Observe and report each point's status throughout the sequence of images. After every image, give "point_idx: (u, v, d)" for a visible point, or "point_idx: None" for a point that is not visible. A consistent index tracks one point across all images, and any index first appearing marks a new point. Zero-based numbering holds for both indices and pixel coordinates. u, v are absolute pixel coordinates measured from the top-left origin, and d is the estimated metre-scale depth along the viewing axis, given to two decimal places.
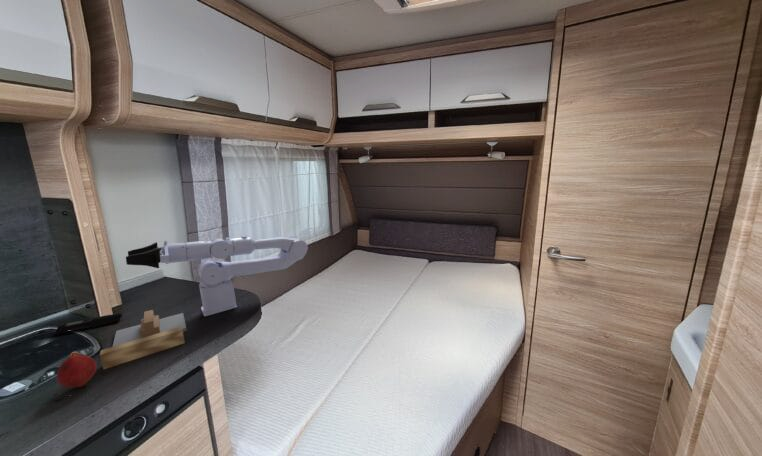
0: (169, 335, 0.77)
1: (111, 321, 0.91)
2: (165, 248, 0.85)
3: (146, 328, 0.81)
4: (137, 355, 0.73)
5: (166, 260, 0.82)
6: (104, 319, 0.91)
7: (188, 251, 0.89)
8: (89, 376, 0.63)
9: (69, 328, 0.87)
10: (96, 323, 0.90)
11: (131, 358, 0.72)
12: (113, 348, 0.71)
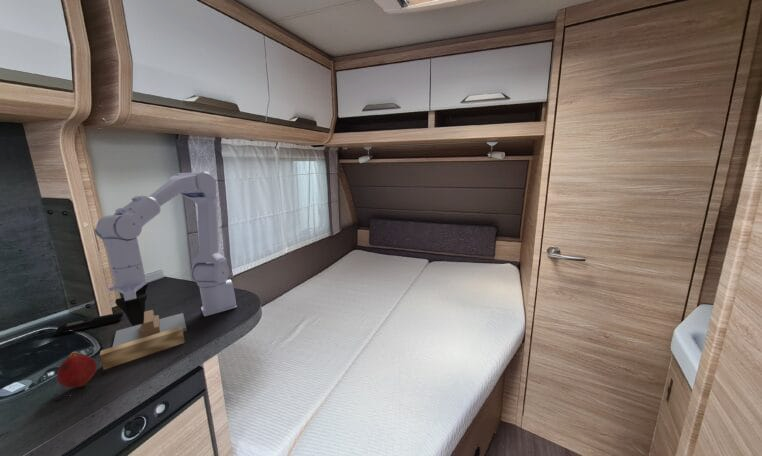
0: (169, 335, 0.77)
1: (112, 320, 0.92)
2: (118, 290, 0.68)
3: (146, 328, 0.81)
4: (137, 355, 0.73)
5: (131, 293, 0.66)
6: (105, 318, 0.91)
7: (133, 263, 0.69)
8: (89, 376, 0.63)
9: (70, 328, 0.87)
10: (97, 322, 0.90)
11: (131, 358, 0.72)
12: (113, 348, 0.71)
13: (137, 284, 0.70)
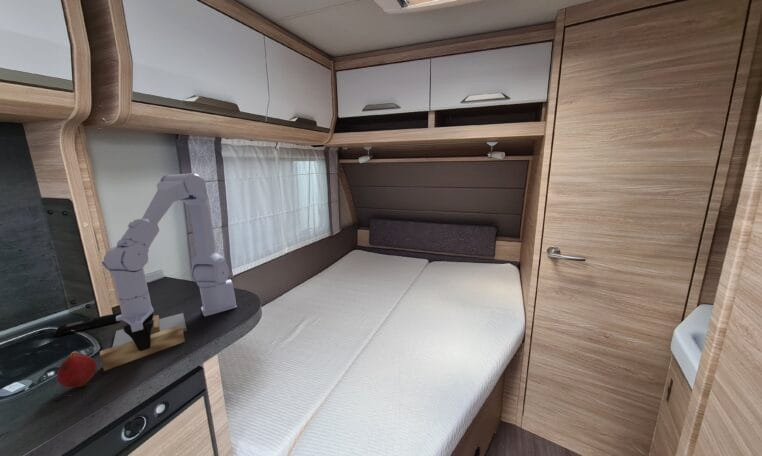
0: (169, 334, 0.77)
1: (113, 320, 0.92)
2: (125, 321, 0.69)
3: None
4: (138, 354, 0.73)
5: (139, 324, 0.68)
6: (105, 319, 0.91)
7: (140, 294, 0.71)
8: (89, 376, 0.63)
9: (69, 329, 0.87)
10: (98, 322, 0.90)
11: (132, 358, 0.72)
12: (113, 348, 0.71)
13: (144, 314, 0.72)
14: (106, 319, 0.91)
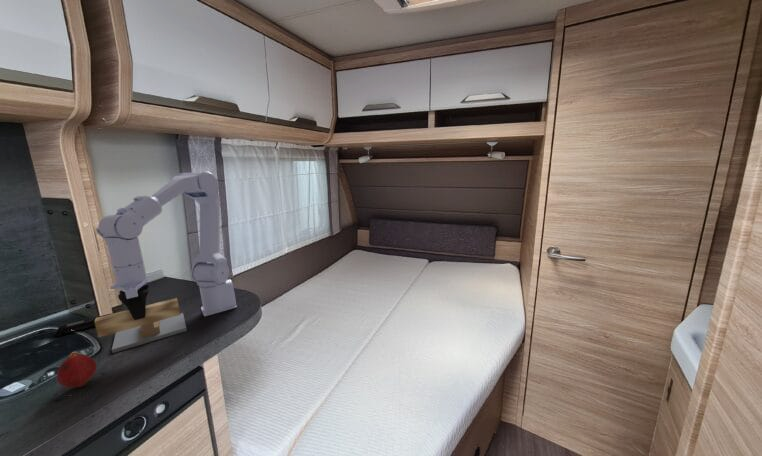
0: (164, 305, 0.76)
1: None
2: (120, 289, 0.69)
3: (146, 328, 0.81)
4: (132, 324, 0.73)
5: (133, 291, 0.67)
6: None
7: (134, 262, 0.71)
8: (89, 376, 0.63)
9: (70, 328, 0.87)
10: None
11: (126, 326, 0.72)
12: (108, 316, 0.71)
13: (138, 282, 0.71)
14: None
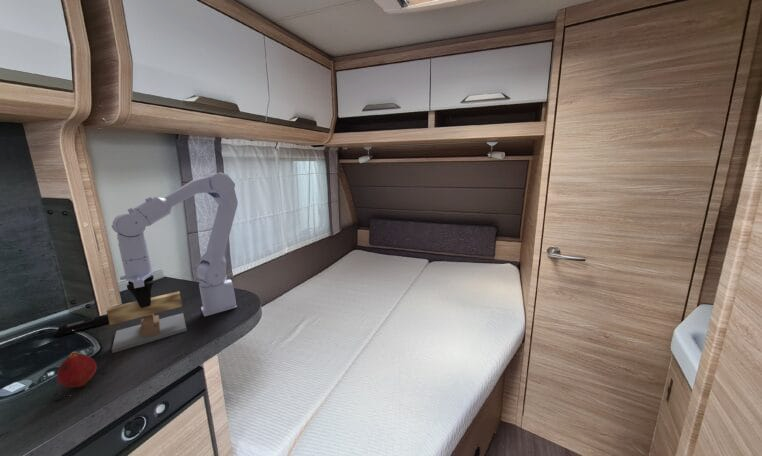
0: (168, 298, 0.85)
1: None
2: (128, 280, 0.78)
3: (146, 328, 0.81)
4: (139, 313, 0.82)
5: (140, 282, 0.76)
6: (107, 317, 0.92)
7: (135, 257, 0.79)
8: (89, 376, 0.63)
9: (71, 329, 0.87)
10: (100, 321, 0.91)
11: (134, 316, 0.81)
12: (118, 306, 0.80)
13: (144, 274, 0.80)
14: None
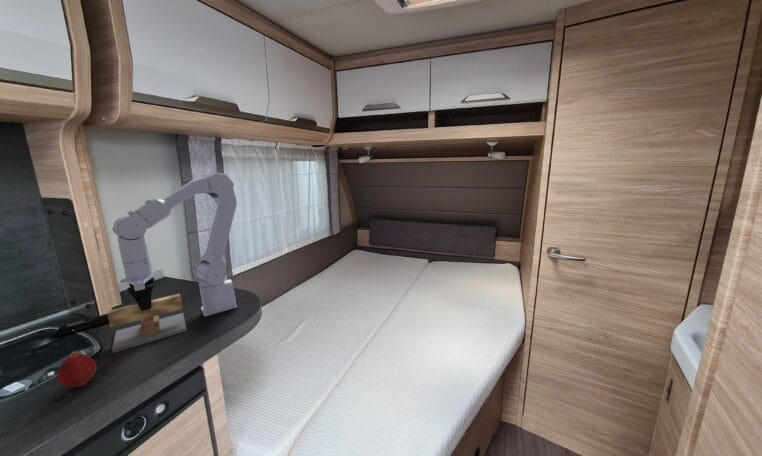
0: (168, 300, 0.86)
1: None
2: (129, 282, 0.78)
3: (146, 328, 0.81)
4: (140, 316, 0.82)
5: (141, 284, 0.77)
6: (107, 317, 0.92)
7: (135, 260, 0.79)
8: (89, 376, 0.63)
9: (71, 328, 0.87)
10: (100, 321, 0.91)
11: (135, 318, 0.81)
12: (119, 309, 0.80)
13: (145, 277, 0.81)
14: None
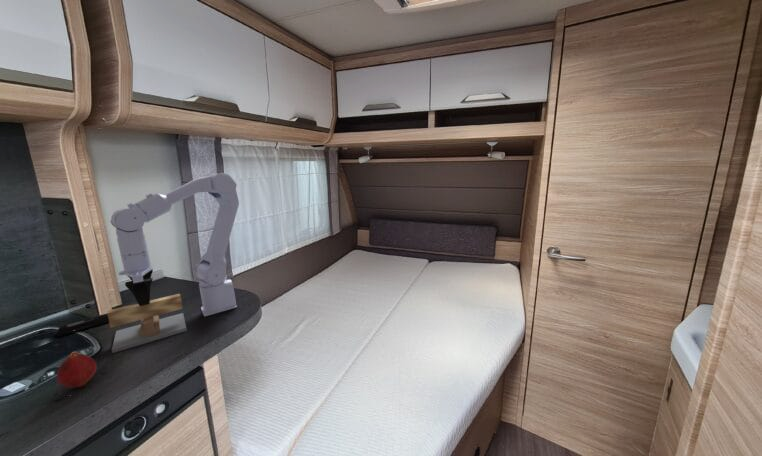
0: (168, 300, 0.86)
1: None
2: (127, 275, 0.78)
3: (146, 328, 0.81)
4: (140, 316, 0.82)
5: (139, 276, 0.76)
6: None
7: (134, 253, 0.78)
8: (89, 376, 0.63)
9: (72, 329, 0.87)
10: (101, 320, 0.91)
11: (135, 318, 0.81)
12: (119, 309, 0.80)
13: (144, 269, 0.80)
14: None
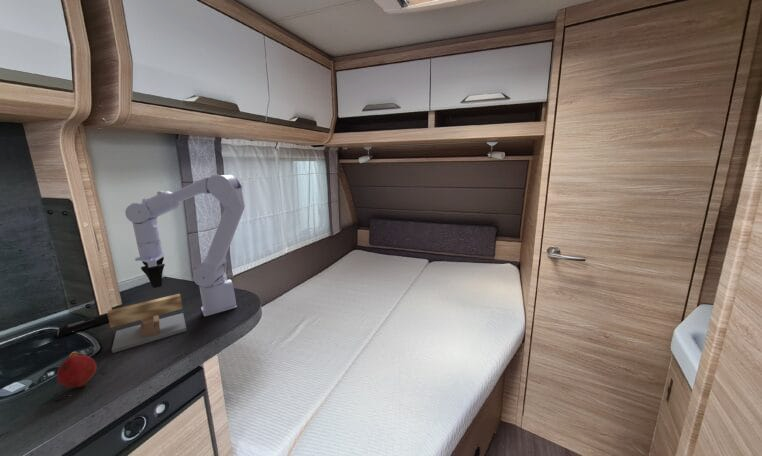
0: (168, 300, 0.86)
1: None
2: (142, 260, 0.89)
3: (146, 328, 0.81)
4: (140, 316, 0.82)
5: (153, 262, 0.87)
6: None
7: (140, 242, 0.89)
8: (89, 376, 0.63)
9: (73, 329, 0.87)
10: (101, 320, 0.92)
11: (135, 318, 0.81)
12: (119, 309, 0.80)
13: (157, 256, 0.91)
14: None
